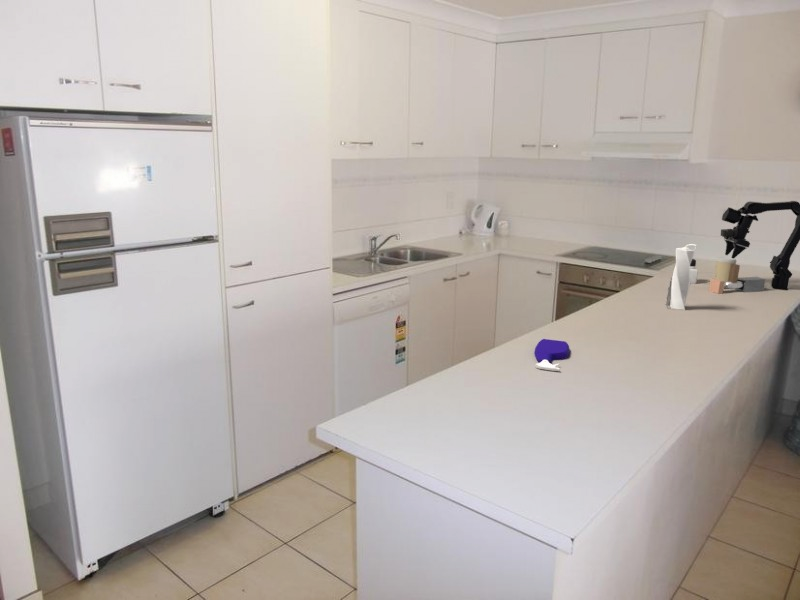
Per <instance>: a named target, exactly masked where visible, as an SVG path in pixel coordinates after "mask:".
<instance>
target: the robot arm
mask: <svg viewBox="0 0 800 600" xmlns="http://www.w3.org/2000/svg"><path fill="white" fill-rule="evenodd" d="M785 210H786V211H787V210H788V211H789V210H790V211H791V212H792V213H793V214H794V215H795V216H796V219H795V222H794V223H795V224H794V228H793V230H792V232H791V234H790V236H789V237H788V239H787V240H786V242H785V244H784V246H783V248H782V250H781V252H779V254H778V255H777V256H776V255H773V256H772V259H771V260H770V262H769V268H770V270H771V271H772V274H773V277H772V278H771V283H770V287H771V289H773V290H774V289H776V290H785V291H788V290H789V282H790V281H789V280H790V279H791V277H792V276H793V273H792V272H791V270H790V269H789V266H790V264H791V257H792V255H793V254H794V251H796V248H797V246H798V244H799V242H800V202H799V201H797V200H789V201H779V202H778V201H777V202H775V201H774V202H759V201H750V200H749V201H746V203H745V204H744V205H743V206H742V207H740V208H738V209H734V208H732V207H727V209H726V210H725V211H724V212H723V214H722V216H721V220H722V221H724V222H726V223H730V224H733V225H734V224H736V226H733V227H732V228H726V229H725V228H724V229H720V237H722V238H723V240H724V242H725V244H726V246H725V253H724V254H725V256H728V255H730V253H731V252H732V254H731V257H730V258H733V259H735V258H737V257H738V256H739V255H740V254H741V253H742V252H743V251H745V250H747V249H748V248H750V245H751V243H750V241H749V240H747V239H746V237H747V234H750V233H751V232H750V228H751V226H752V224H753V222H754V221H756V222H758V221H759V219H758V217H757V215H759V214H762V213H766V212H772V211H773V212H774V211H785Z"/></svg>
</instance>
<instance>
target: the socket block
mask: <svg viewBox="0 0 800 600" xmlns="http://www.w3.org/2000/svg"><path fill="white" fill-rule="evenodd" d="M724 282H725V281H722V280H718V279H715V278H710V282H709V289H708V291H709V292H712V293H715V294H719V295H720V294H724Z"/></svg>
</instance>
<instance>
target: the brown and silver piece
mask: <svg viewBox="0 0 800 600" xmlns="http://www.w3.org/2000/svg"><path fill="white" fill-rule="evenodd" d="M739 273H740V264H737V263H736V264H731V265H730V271H729V277H728V282H724V288H723V290H735V289H739V288H744V282H745V281H737V280H738V278H739Z"/></svg>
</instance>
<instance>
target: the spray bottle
mask: <svg viewBox="0 0 800 600" xmlns="http://www.w3.org/2000/svg"><path fill="white" fill-rule="evenodd" d="M533 354H534V356H535V359H536V360H537V362H538V363H535V365H534V367H535V369H539V370H546V371H553V372H560V370H561V368H560V367H558V366H560V363H555V364H552V363H553V362H552V361H553V360H554V361H555V360H556V361H557V360H564V359H567V358H568V357H569V355H570V345H569V343H568V342H567V341H565V340H556V339H555V340H554V339H547V338H542V339H541V340H539V341H538V343H537V345H535V349H534V353H533Z"/></svg>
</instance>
